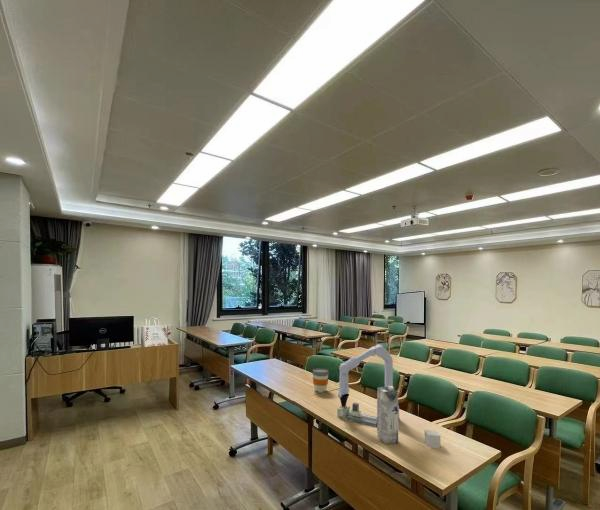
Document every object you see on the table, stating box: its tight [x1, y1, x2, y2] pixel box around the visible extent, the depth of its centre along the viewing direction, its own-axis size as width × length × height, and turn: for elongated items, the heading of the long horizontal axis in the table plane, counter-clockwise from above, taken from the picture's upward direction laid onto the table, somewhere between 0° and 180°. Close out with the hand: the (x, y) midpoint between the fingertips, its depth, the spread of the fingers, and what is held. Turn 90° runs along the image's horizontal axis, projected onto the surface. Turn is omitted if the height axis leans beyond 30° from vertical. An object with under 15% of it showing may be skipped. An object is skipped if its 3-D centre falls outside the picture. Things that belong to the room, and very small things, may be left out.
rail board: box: [344, 411, 377, 427], centre depth 192 cm, size 18×10×3 cm, turn 61°
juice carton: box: [376, 386, 399, 445], centre depth 168 cm, size 9×10×27 cm
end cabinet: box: [336, 404, 351, 419], centre depth 198 cm, size 5×8×5 cm, turn 151°
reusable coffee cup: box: [312, 368, 330, 393], centre depth 247 cm, size 13×13×15 cm
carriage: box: [350, 402, 362, 417], centre depth 195 cm, size 5×4×7 cm
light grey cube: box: [423, 429, 442, 449], centre depth 163 cm, size 6×6×6 cm
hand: (343, 406), depth 198 cm, fingers closed, pressing on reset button
